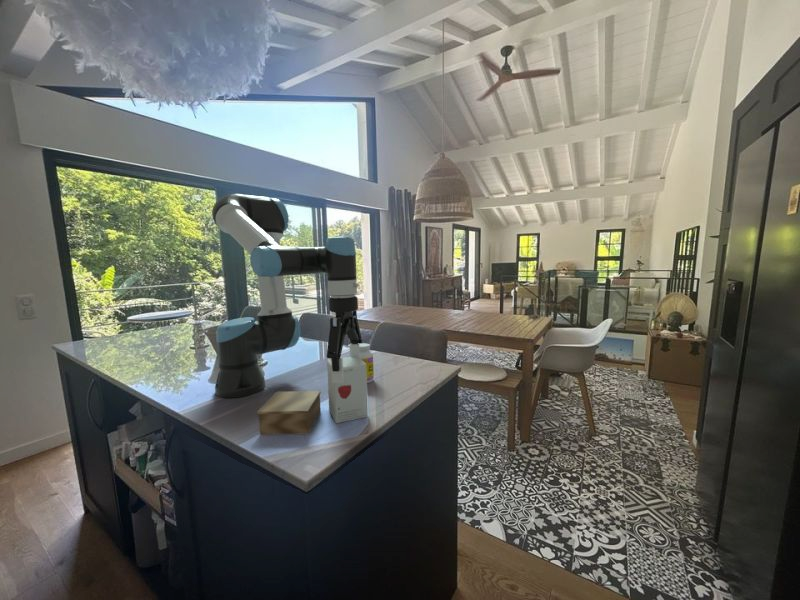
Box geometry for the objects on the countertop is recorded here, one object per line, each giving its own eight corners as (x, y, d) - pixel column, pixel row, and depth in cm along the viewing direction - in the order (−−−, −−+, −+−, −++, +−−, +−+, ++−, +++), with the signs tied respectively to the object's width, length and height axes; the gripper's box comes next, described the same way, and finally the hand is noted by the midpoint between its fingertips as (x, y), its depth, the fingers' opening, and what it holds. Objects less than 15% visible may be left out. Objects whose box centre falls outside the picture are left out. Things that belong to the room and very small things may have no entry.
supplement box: (335, 424, 88) (332, 368, 86) (328, 410, 96) (325, 359, 94) (369, 417, 91) (367, 363, 89) (359, 404, 100) (357, 354, 98)
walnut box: (259, 434, 83) (257, 411, 83) (277, 412, 96) (276, 391, 95) (309, 434, 83) (307, 410, 82) (321, 411, 95) (320, 391, 95)
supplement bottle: (370, 384, 115) (369, 347, 113) (352, 383, 116) (350, 347, 114) (376, 377, 121) (374, 342, 120) (358, 377, 122) (357, 342, 121)
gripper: (339, 301, 77) (344, 391, 79) (369, 291, 101) (373, 360, 103) (308, 302, 78) (314, 390, 81) (346, 291, 102) (349, 360, 105)
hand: (347, 374), depth 92 cm, fingers open, 13 cm apart
